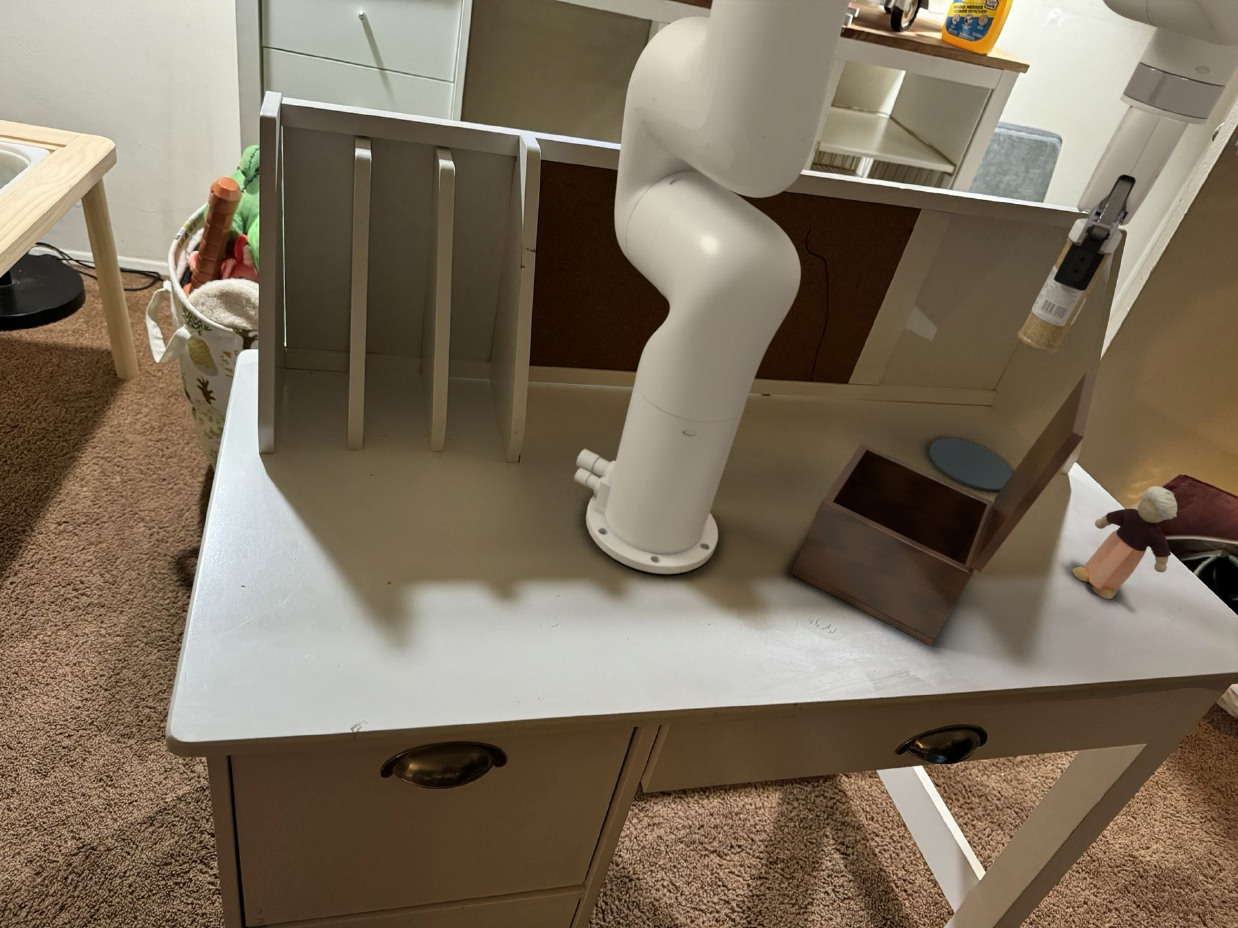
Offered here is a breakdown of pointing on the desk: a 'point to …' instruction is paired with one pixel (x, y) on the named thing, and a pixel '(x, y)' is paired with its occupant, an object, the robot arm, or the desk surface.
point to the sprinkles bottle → (1059, 301)
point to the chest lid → (1036, 470)
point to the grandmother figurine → (1130, 542)
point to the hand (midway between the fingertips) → (1072, 276)
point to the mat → (970, 464)
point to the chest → (894, 542)
